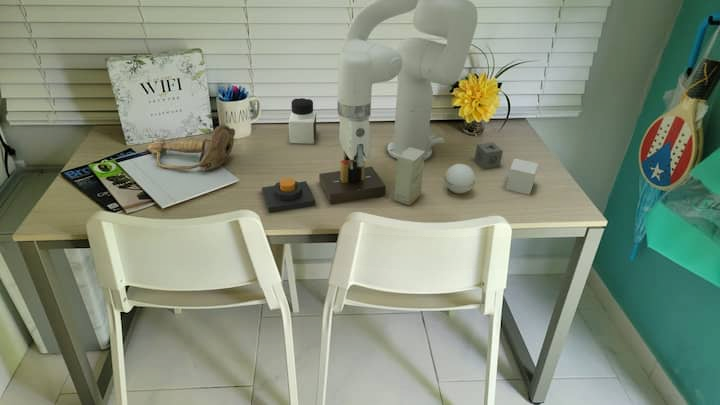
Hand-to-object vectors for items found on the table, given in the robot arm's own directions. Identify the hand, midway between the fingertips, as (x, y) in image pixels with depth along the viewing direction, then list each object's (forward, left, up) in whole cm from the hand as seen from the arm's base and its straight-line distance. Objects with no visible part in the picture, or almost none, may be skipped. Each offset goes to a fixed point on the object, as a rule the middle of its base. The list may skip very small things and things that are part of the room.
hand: (352, 177), depth 125 cm
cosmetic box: (-12, +7, -4) cm, 14 cm away
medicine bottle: (+5, -31, -4) cm, 32 cm away
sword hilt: (+38, -27, -4) cm, 47 cm away
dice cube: (-40, -3, -4) cm, 40 cm away
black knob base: (+16, 0, -4) cm, 16 cm away
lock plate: (0, 0, -4) cm, 4 cm away
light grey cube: (-42, +10, -4) cm, 43 cm away
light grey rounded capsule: (-25, +9, -4) cm, 27 cm away
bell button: (+16, 0, 0) cm, 16 cm away
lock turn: (0, 0, -1) cm, 1 cm away
